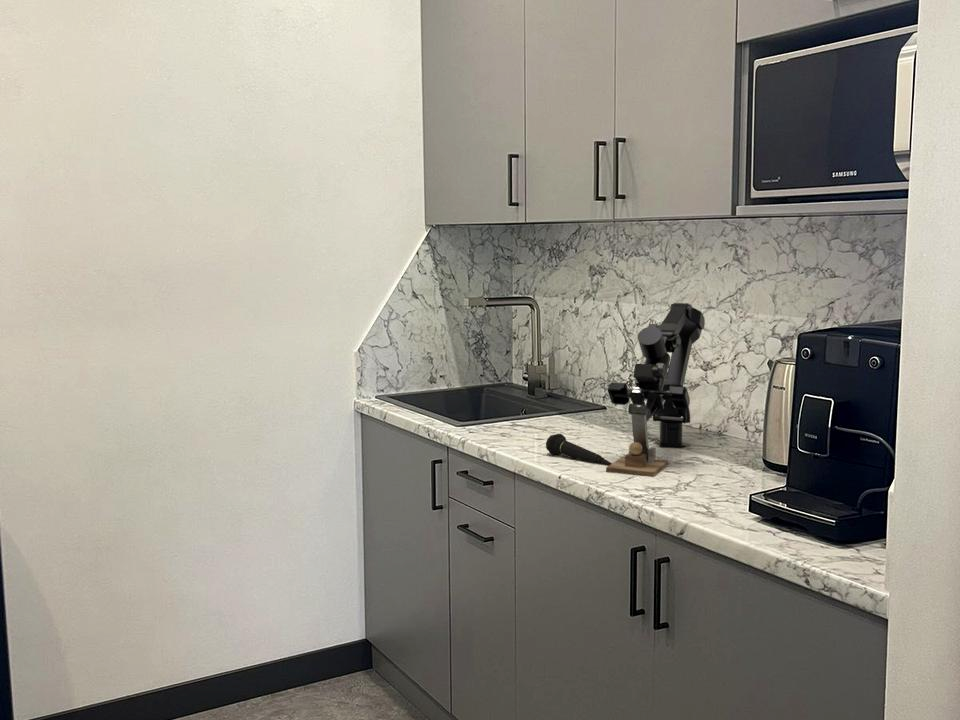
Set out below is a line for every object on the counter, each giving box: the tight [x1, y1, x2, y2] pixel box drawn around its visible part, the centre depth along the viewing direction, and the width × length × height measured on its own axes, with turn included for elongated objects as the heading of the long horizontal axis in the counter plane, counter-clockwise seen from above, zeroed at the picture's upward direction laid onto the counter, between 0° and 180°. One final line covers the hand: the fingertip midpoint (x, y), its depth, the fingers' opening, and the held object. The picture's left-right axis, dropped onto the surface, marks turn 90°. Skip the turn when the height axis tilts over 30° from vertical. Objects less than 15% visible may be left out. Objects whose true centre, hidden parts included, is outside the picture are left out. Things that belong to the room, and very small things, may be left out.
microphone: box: [545, 433, 613, 467], centre depth 234 cm, size 6×6×20 cm
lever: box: [627, 403, 650, 460], centre depth 225 cm, size 2×4×14 cm, turn 64°
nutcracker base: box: [605, 441, 670, 478], centre depth 224 cm, size 13×11×6 cm
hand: (640, 424), depth 225 cm, fingers closed, pressing on lever
